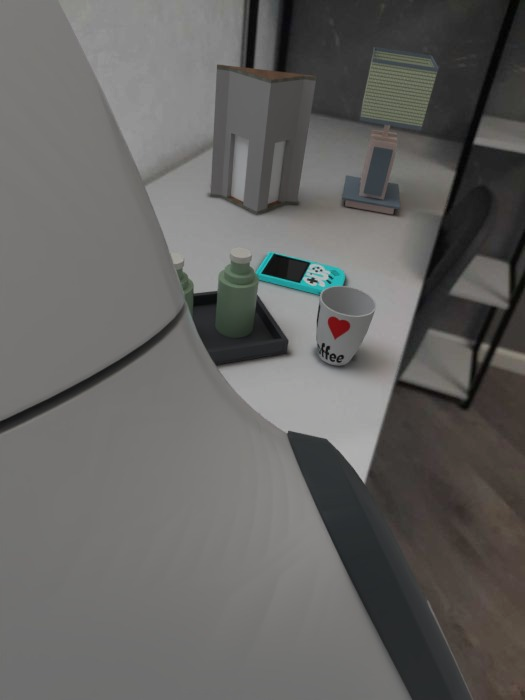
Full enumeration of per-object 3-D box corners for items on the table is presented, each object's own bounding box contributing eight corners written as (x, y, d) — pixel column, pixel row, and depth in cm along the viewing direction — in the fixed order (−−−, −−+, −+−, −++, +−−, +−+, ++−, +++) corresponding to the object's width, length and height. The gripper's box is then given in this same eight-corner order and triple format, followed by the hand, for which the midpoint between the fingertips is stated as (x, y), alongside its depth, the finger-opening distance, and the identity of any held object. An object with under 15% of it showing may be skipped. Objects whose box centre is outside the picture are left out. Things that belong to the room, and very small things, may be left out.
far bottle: (222, 340, 79) (228, 264, 71) (210, 318, 84) (214, 244, 76) (258, 335, 81) (268, 260, 73) (245, 313, 86) (253, 241, 78)
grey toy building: (296, 202, 128) (315, 75, 111) (299, 218, 120) (320, 85, 103) (210, 194, 126) (217, 64, 109) (208, 210, 118) (215, 73, 101)
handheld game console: (337, 300, 93) (339, 293, 92) (253, 279, 96) (253, 272, 95) (346, 275, 101) (348, 269, 100) (268, 256, 104) (269, 250, 103)
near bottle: (156, 350, 76) (155, 271, 68) (148, 326, 80) (145, 249, 72) (196, 344, 78) (199, 266, 70) (186, 321, 82) (188, 246, 74)
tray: (67, 389, 68) (65, 374, 67) (57, 322, 79) (55, 308, 78) (286, 353, 79) (288, 340, 78) (250, 299, 90) (252, 286, 89)
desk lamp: (397, 218, 126) (440, 68, 106) (340, 208, 127) (371, 58, 108) (395, 192, 141) (433, 56, 121) (344, 183, 142) (372, 46, 122)
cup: (297, 348, 80) (308, 293, 74) (335, 333, 85) (348, 280, 79) (333, 378, 76) (348, 322, 70) (371, 361, 80) (388, 307, 74)
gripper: (410, 690, 34) (341, 511, 45) (83, 763, 29) (91, 543, 40) (386, 723, 38) (327, 551, 48) (93, 793, 33) (98, 585, 44)
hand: (219, 548), depth 44 cm, fingers open, 8 cm apart
